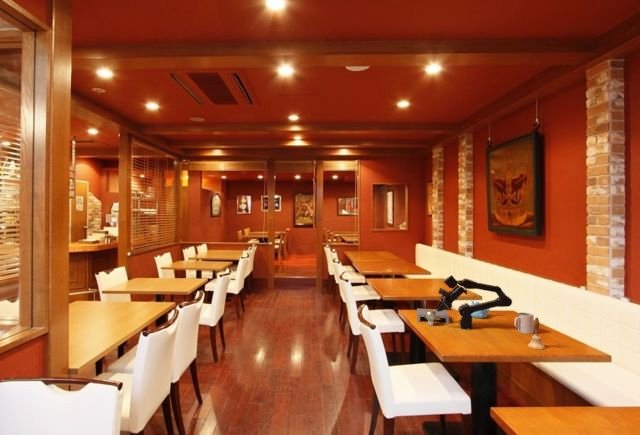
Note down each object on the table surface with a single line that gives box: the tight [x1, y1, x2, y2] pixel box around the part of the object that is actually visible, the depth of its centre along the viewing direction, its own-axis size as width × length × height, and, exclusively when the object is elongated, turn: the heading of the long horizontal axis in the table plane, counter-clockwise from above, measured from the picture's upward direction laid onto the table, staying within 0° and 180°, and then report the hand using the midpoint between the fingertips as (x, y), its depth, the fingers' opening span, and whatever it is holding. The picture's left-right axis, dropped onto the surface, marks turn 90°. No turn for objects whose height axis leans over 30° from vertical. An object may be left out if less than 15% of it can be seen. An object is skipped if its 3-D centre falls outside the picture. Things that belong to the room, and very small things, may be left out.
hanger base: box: [416, 308, 450, 324], centre depth 261 cm, size 20×16×5 cm
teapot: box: [464, 299, 491, 319], centre depth 270 cm, size 15×15×10 cm
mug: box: [514, 312, 535, 335], centre depth 234 cm, size 12×8×11 cm
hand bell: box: [527, 317, 546, 350], centre depth 208 cm, size 8×8×16 cm
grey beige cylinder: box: [425, 310, 437, 327], centre depth 247 cm, size 6×6×9 cm
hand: (437, 309), depth 246 cm, fingers open, 9 cm apart
